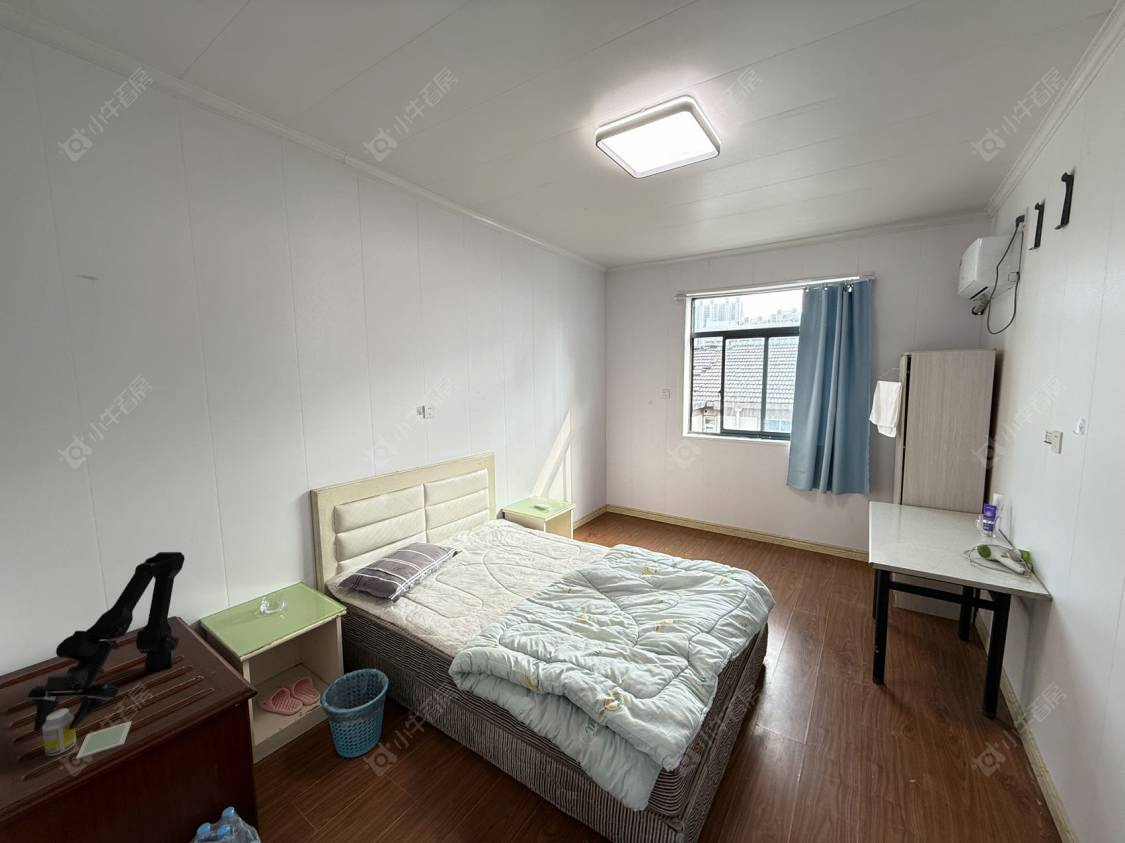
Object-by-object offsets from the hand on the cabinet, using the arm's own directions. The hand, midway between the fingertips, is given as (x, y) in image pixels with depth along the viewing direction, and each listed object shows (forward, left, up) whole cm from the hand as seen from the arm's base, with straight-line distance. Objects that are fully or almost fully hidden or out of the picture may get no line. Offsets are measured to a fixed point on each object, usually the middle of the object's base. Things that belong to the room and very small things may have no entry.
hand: (53, 730), depth 116 cm
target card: (-10, +1, -7) cm, 12 cm away
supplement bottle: (-1, -1, -7) cm, 7 cm away
